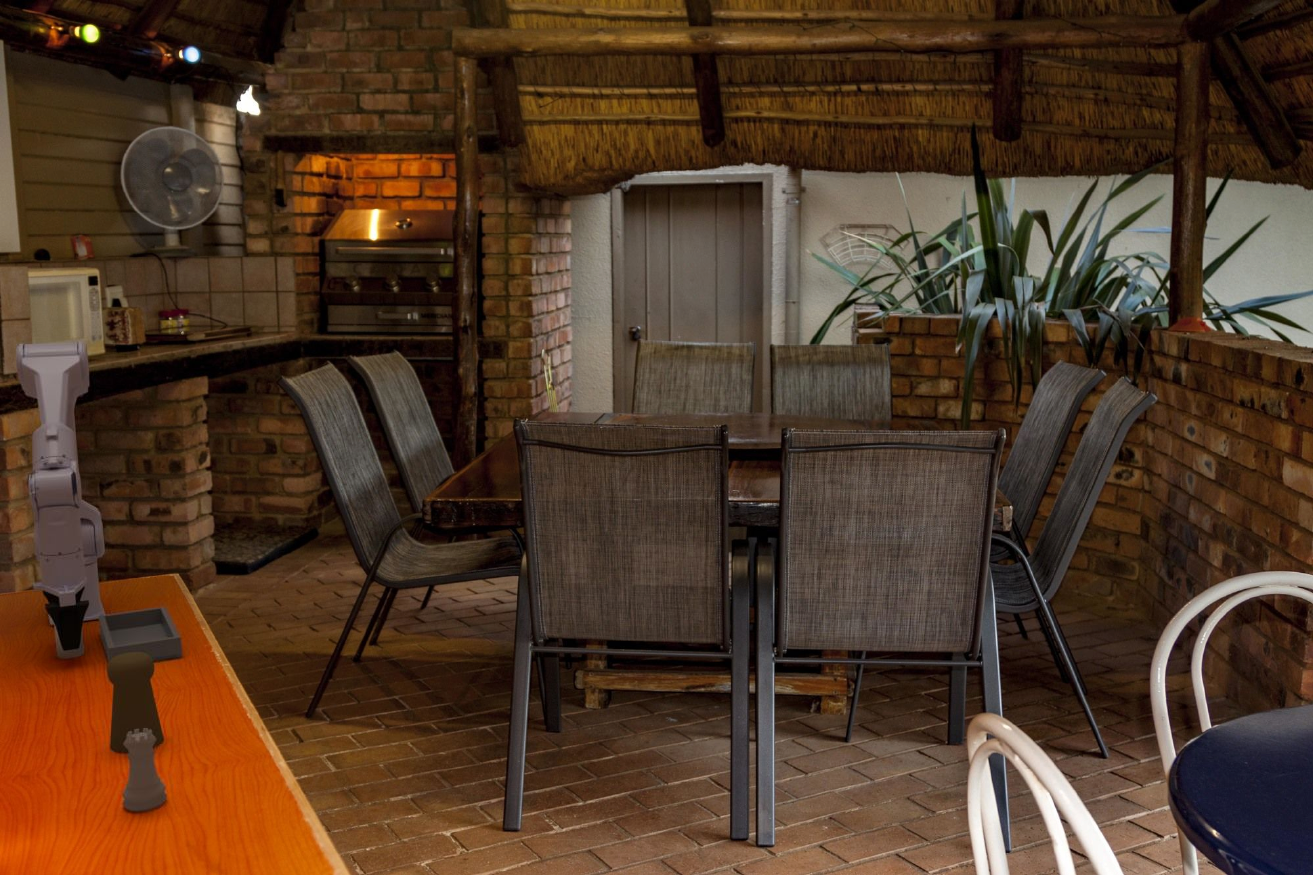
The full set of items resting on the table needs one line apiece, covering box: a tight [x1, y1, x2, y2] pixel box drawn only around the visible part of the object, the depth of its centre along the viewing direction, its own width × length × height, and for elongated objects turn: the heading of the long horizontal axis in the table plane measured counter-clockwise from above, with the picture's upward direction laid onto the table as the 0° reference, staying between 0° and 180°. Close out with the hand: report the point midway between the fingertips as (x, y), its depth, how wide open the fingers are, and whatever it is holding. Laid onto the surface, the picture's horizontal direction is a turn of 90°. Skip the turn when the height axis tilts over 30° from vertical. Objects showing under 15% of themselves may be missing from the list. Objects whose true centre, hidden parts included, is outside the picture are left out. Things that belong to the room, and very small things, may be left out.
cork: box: [106, 652, 165, 755], centre depth 149 cm, size 6×6×11 cm
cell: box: [53, 624, 85, 660], centre depth 182 cm, size 4×4×7 cm
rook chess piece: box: [121, 728, 168, 813], centre depth 133 cm, size 4×4×8 cm
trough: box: [98, 606, 183, 664], centre depth 186 cm, size 18×10×3 cm, turn 28°
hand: (69, 641), depth 182 cm, fingers open, 7 cm apart
